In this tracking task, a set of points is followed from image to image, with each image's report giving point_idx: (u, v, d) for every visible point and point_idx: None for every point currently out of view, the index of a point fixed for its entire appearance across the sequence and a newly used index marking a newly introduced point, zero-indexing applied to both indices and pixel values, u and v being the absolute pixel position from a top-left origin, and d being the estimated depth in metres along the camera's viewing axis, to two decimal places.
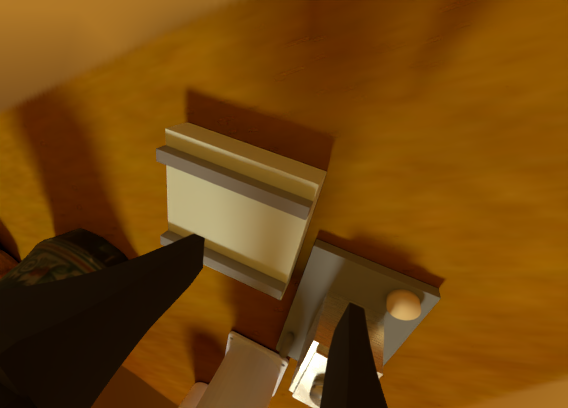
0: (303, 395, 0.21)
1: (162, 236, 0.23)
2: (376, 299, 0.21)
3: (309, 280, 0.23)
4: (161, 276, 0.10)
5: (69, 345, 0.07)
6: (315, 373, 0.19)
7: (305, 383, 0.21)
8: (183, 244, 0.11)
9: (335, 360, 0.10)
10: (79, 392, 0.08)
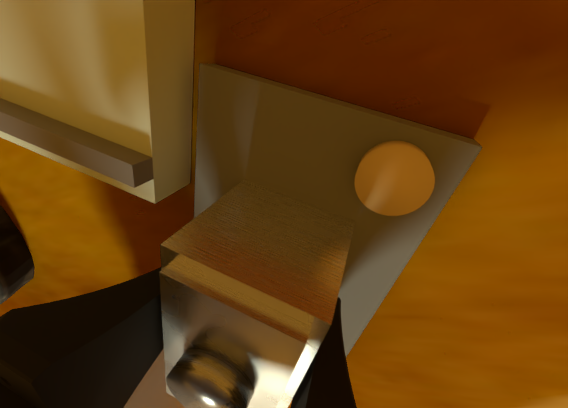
0: None
1: None
2: (336, 182, 0.10)
3: (209, 162, 0.12)
4: None
5: (98, 363, 0.07)
6: (180, 334, 0.08)
7: (174, 361, 0.09)
8: None
9: None
10: None
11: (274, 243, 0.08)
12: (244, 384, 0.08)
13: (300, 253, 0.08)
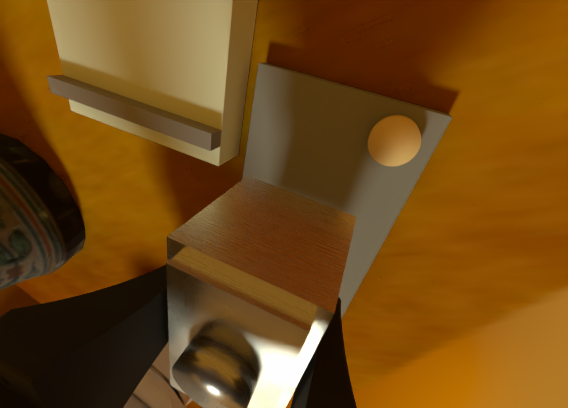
0: None
1: (50, 77, 0.16)
2: (354, 146, 0.14)
3: (259, 135, 0.16)
4: None
5: (98, 362, 0.07)
6: (186, 325, 0.08)
7: (178, 353, 0.09)
8: None
9: None
10: None
11: (278, 236, 0.08)
12: (248, 374, 0.08)
13: (303, 246, 0.08)
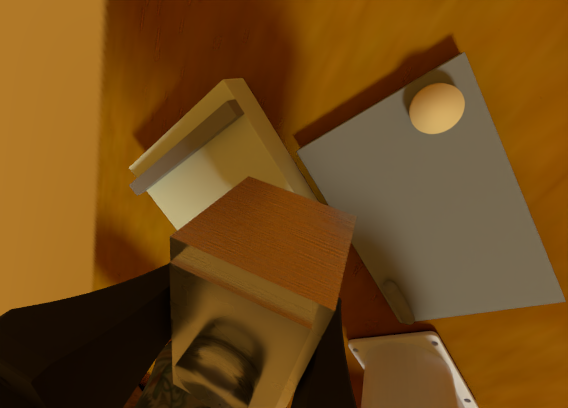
0: None
1: None
2: (408, 140, 0.15)
3: (333, 194, 0.18)
4: None
5: (98, 362, 0.07)
6: (188, 324, 0.08)
7: (181, 352, 0.09)
8: None
9: None
10: None
11: (279, 236, 0.09)
12: (250, 371, 0.08)
13: (303, 246, 0.08)
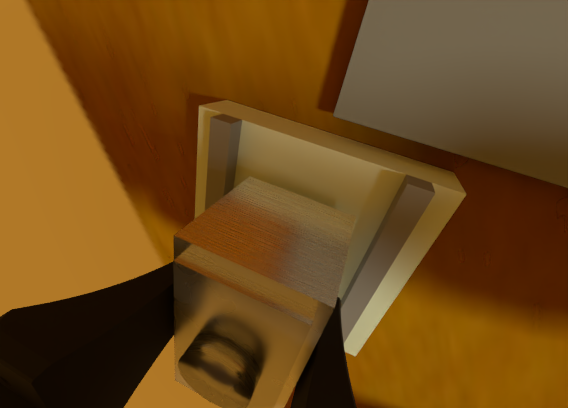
0: None
1: None
2: None
3: (426, 125, 0.11)
4: None
5: (98, 363, 0.07)
6: (191, 321, 0.09)
7: (183, 348, 0.10)
8: None
9: None
10: None
11: (280, 235, 0.09)
12: (252, 367, 0.08)
13: (304, 244, 0.09)
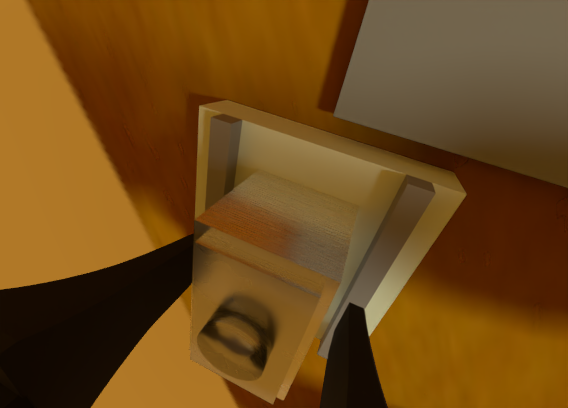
0: None
1: (318, 352, 0.16)
2: None
3: (426, 125, 0.11)
4: (161, 276, 0.10)
5: (69, 345, 0.07)
6: (209, 299, 0.09)
7: (200, 327, 0.10)
8: (183, 244, 0.11)
9: (335, 360, 0.10)
10: (79, 392, 0.08)
11: (289, 221, 0.10)
12: (265, 340, 0.09)
13: (311, 230, 0.09)
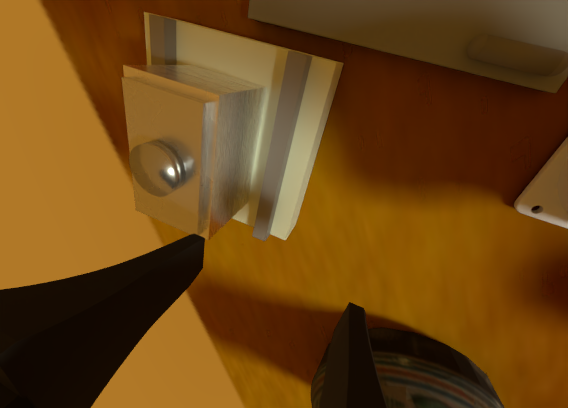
0: (145, 199, 0.15)
1: (253, 234, 0.19)
2: None
3: (312, 17, 0.14)
4: (161, 276, 0.10)
5: (69, 345, 0.07)
6: (138, 134, 0.13)
7: None
8: (183, 244, 0.11)
9: (335, 360, 0.10)
10: (79, 392, 0.08)
11: (199, 78, 0.13)
12: (177, 158, 0.12)
13: (215, 83, 0.13)
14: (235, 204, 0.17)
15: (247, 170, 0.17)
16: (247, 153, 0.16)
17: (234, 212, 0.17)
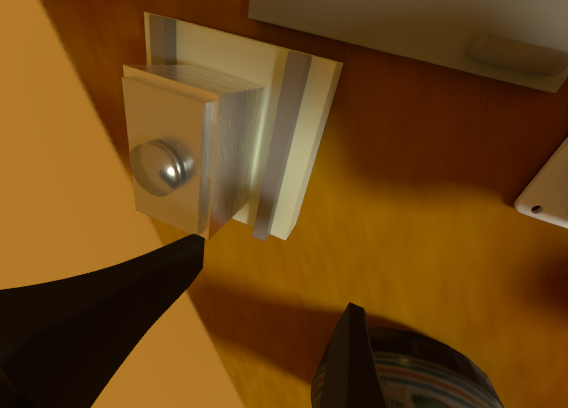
0: (145, 199, 0.15)
1: (253, 234, 0.19)
2: None
3: (312, 17, 0.14)
4: (161, 276, 0.10)
5: (69, 345, 0.07)
6: (138, 134, 0.13)
7: None
8: (183, 244, 0.11)
9: (335, 360, 0.10)
10: (79, 392, 0.08)
11: (200, 78, 0.13)
12: (177, 158, 0.12)
13: (215, 83, 0.13)
14: (235, 204, 0.17)
15: (247, 170, 0.17)
16: (247, 153, 0.16)
17: (234, 212, 0.17)
